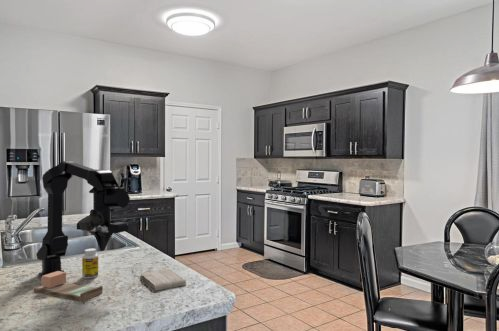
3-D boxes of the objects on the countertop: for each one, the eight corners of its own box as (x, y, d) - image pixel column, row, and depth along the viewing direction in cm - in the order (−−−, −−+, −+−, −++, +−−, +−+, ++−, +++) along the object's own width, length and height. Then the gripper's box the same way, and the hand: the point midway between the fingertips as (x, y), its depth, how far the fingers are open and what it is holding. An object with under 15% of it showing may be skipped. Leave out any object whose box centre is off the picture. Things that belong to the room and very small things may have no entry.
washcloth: (168, 273, 142) (168, 265, 142) (187, 286, 127) (187, 277, 127) (137, 279, 135) (137, 270, 135) (154, 293, 120) (154, 284, 120)
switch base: (33, 291, 121) (33, 284, 121) (55, 283, 128) (55, 277, 128) (82, 301, 112) (82, 294, 112) (102, 292, 120) (102, 286, 120)
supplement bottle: (83, 280, 132) (83, 252, 132) (81, 276, 137) (81, 249, 137) (99, 277, 136) (99, 250, 135) (96, 273, 140) (96, 247, 140)
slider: (41, 286, 121) (41, 276, 121) (57, 280, 126) (57, 270, 126) (50, 288, 119) (50, 277, 119) (66, 282, 125) (65, 272, 125)
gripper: (63, 207, 123) (63, 253, 124) (105, 210, 116) (105, 259, 116) (89, 204, 134) (89, 246, 134) (129, 206, 126) (129, 251, 127)
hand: (102, 250), depth 127 cm, fingers closed
